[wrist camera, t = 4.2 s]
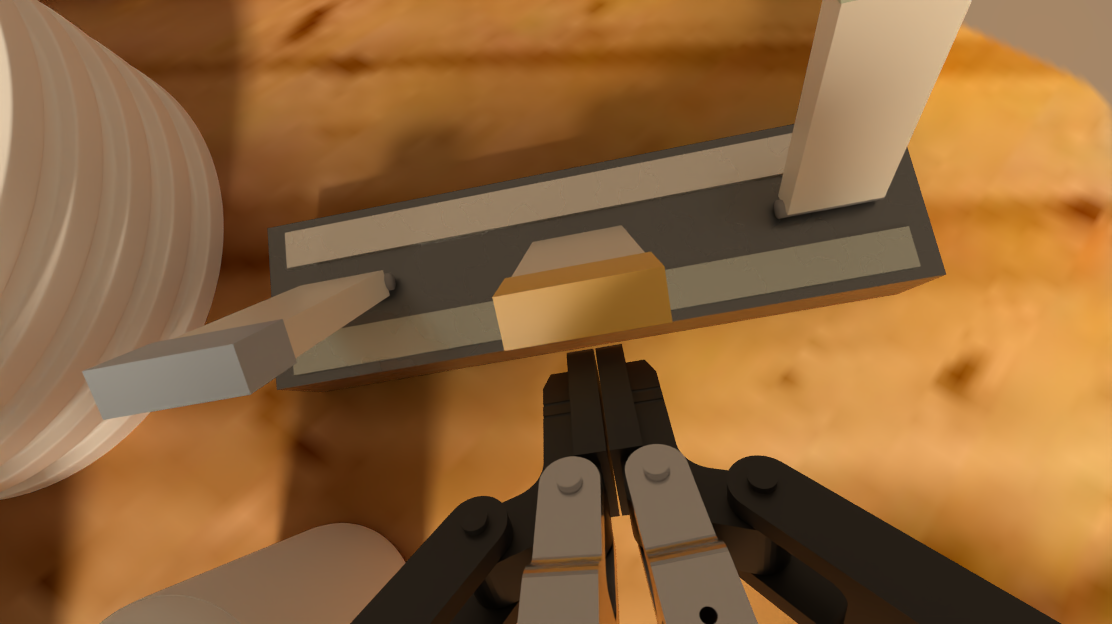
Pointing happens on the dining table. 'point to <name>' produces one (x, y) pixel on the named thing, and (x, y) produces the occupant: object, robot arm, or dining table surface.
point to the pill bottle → (280, 583)
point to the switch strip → (586, 205)
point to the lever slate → (233, 348)
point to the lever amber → (581, 289)
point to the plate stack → (89, 236)
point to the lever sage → (863, 98)
